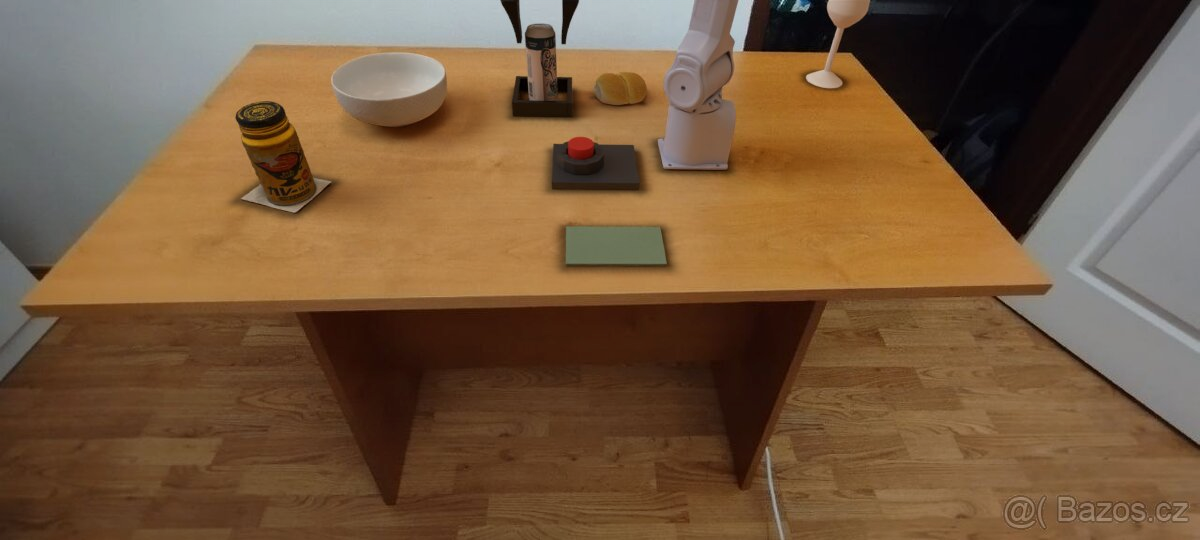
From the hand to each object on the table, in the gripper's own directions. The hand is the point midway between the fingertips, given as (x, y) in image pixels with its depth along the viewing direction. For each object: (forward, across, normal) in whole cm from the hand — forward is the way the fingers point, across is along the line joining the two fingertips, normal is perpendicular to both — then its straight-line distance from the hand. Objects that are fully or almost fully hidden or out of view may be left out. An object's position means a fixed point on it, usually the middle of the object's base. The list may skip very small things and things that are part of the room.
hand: (541, 41), depth 90 cm
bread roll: (+11, -13, -3) cm, 17 cm away
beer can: (+10, 0, 0) cm, 10 cm away
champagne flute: (+11, -52, -11) cm, 54 cm away
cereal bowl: (+11, +23, +5) cm, 26 cm away
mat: (+10, -10, +37) cm, 40 cm away
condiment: (+11, +33, +26) cm, 43 cm away
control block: (+10, -8, +20) cm, 24 cm away
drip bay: (+10, 0, 0) cm, 10 cm away
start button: (+8, -6, +20) cm, 22 cm away
